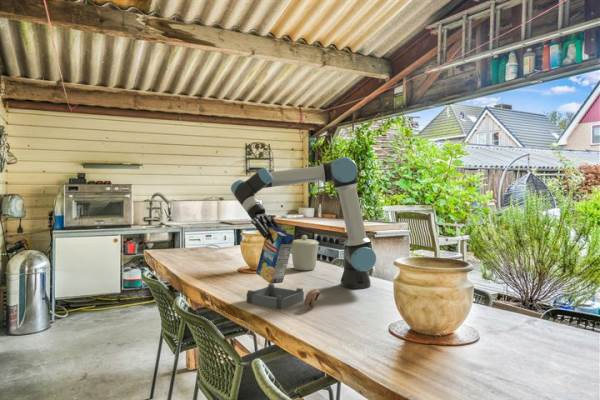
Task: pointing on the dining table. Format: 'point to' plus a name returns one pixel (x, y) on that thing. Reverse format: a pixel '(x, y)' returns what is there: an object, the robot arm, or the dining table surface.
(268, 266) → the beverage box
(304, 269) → the canister
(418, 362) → the dining table surface
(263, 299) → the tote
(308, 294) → the mushroom
